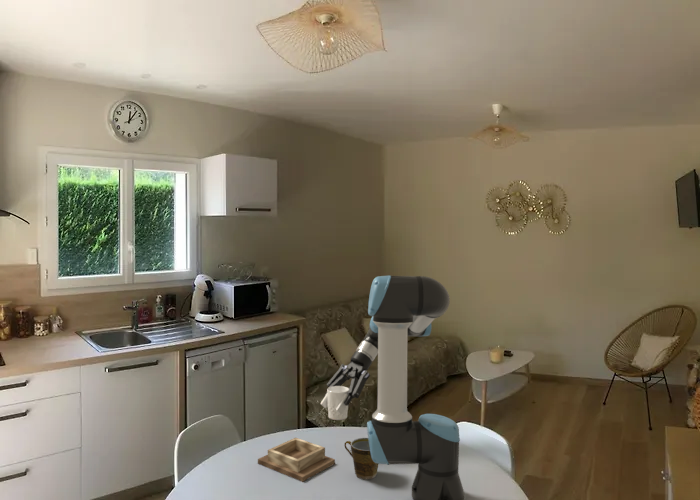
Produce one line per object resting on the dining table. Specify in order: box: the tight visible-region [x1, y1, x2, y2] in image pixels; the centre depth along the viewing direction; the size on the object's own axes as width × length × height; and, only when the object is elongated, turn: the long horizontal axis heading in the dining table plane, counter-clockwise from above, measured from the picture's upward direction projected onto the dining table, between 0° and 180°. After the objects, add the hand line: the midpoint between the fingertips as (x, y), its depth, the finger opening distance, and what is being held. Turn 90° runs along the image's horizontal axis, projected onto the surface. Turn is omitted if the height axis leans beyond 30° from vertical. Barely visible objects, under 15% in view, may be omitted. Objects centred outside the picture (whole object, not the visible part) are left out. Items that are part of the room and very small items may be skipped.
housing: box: [257, 437, 336, 483], centre depth 172 cm, size 20×16×5 cm
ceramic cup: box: [343, 437, 379, 480], centre depth 166 cm, size 13×10×10 cm
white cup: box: [326, 385, 350, 421], centre depth 184 cm, size 8×8×10 cm
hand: (330, 408), depth 182 cm, fingers closed on white cup, 8 cm apart
